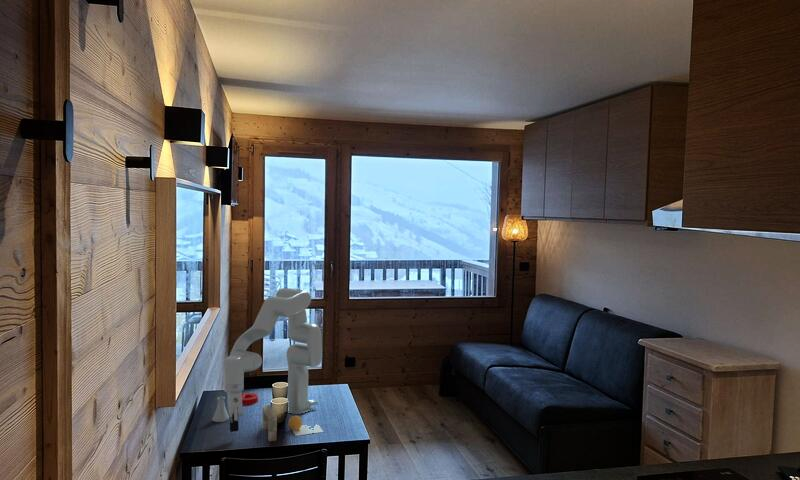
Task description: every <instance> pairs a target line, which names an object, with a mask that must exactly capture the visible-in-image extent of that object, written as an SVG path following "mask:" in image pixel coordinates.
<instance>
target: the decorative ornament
mask: <svg viewBox="0 0 800 480" xmlns="http://www.w3.org/2000/svg"><path fill="white" fill-rule="evenodd" d="M257 403H259V395H258V394H257V393H252V392H249V393H248V392H247V393H242V406H251V405H255V404H257Z"/></svg>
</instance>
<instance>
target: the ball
mask: <svg viewBox="0 0 800 480" xmlns="http://www.w3.org/2000/svg"><path fill="white" fill-rule="evenodd" d="M287 424H288V427H289V429H291V430H298V429H299V428H301V426H302V424H303V419H302V418H301V416H299V415H293V416H291V417H290V418H289V419H288V423H287Z"/></svg>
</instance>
